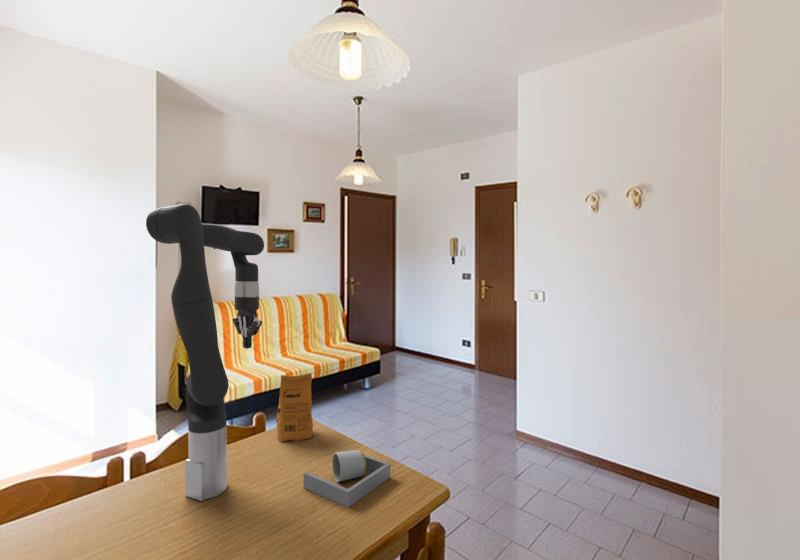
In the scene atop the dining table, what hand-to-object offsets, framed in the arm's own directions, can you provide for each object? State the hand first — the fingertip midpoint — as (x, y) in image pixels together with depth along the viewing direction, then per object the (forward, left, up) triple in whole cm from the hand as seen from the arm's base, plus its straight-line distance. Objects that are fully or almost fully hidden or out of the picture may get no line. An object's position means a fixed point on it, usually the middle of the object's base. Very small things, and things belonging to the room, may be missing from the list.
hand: (247, 347), depth 134 cm
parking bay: (-5, -41, -33) cm, 53 cm away
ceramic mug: (-2, -39, -33) cm, 51 cm away
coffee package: (+14, -8, -33) cm, 37 cm away
